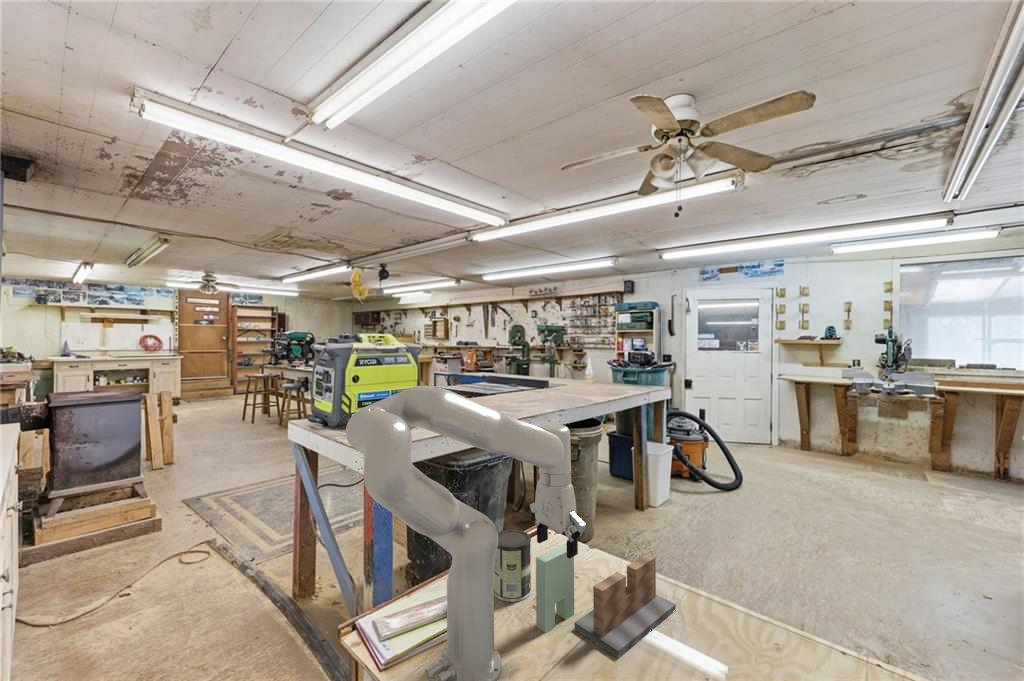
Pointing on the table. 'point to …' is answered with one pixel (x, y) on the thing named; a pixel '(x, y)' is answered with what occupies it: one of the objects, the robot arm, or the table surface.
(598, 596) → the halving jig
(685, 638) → the table surface
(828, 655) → the table surface
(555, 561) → the green slat
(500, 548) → the coffee can
